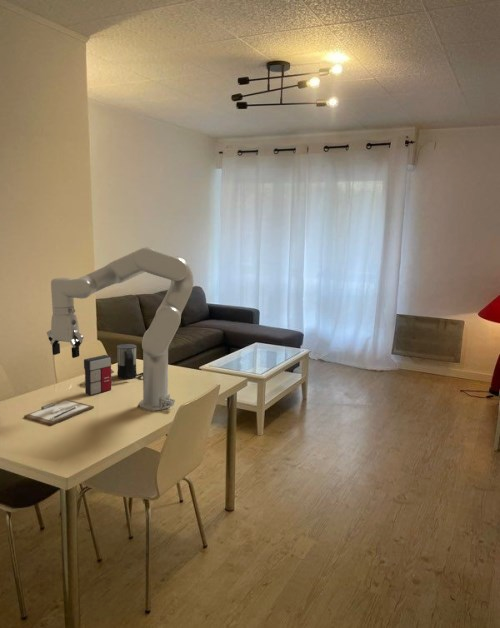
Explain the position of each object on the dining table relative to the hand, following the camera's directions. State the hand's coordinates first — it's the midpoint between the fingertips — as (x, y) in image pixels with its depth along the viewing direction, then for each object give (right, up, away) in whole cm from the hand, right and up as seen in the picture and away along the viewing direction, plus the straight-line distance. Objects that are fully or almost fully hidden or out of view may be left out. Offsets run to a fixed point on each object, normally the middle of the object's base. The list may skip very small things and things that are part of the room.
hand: (66, 355), depth 182 cm
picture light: (0, -21, -5) cm, 21 cm away
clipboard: (-1, -21, -2) cm, 21 cm away
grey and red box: (+6, -18, +22) cm, 29 cm away
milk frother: (+16, -14, +46) cm, 50 cm away
